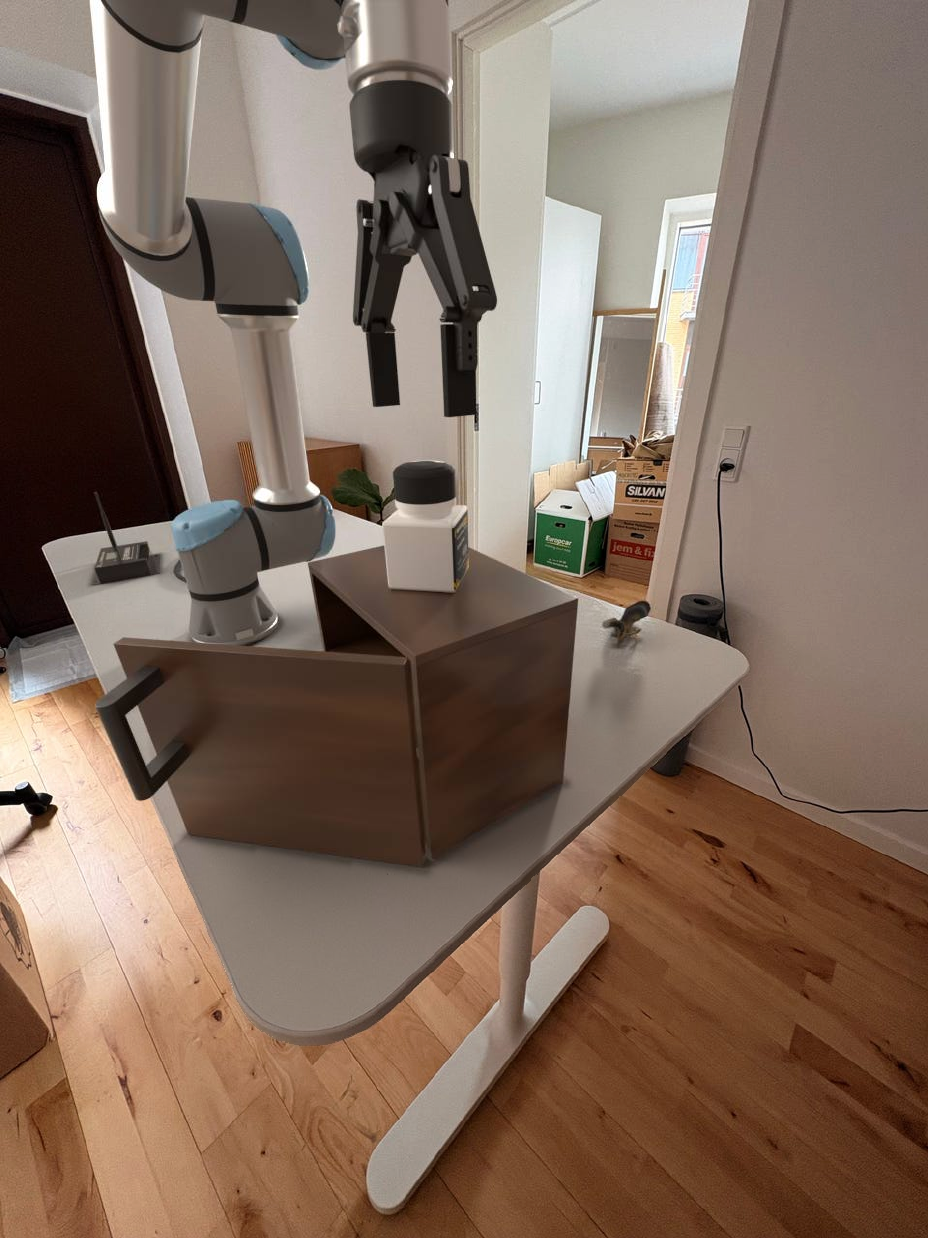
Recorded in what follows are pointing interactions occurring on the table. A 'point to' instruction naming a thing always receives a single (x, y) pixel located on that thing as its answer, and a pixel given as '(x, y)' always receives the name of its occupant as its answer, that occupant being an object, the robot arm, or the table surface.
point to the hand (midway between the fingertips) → (419, 410)
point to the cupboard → (464, 679)
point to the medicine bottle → (426, 529)
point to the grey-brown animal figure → (628, 621)
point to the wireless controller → (123, 559)
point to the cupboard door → (275, 745)
